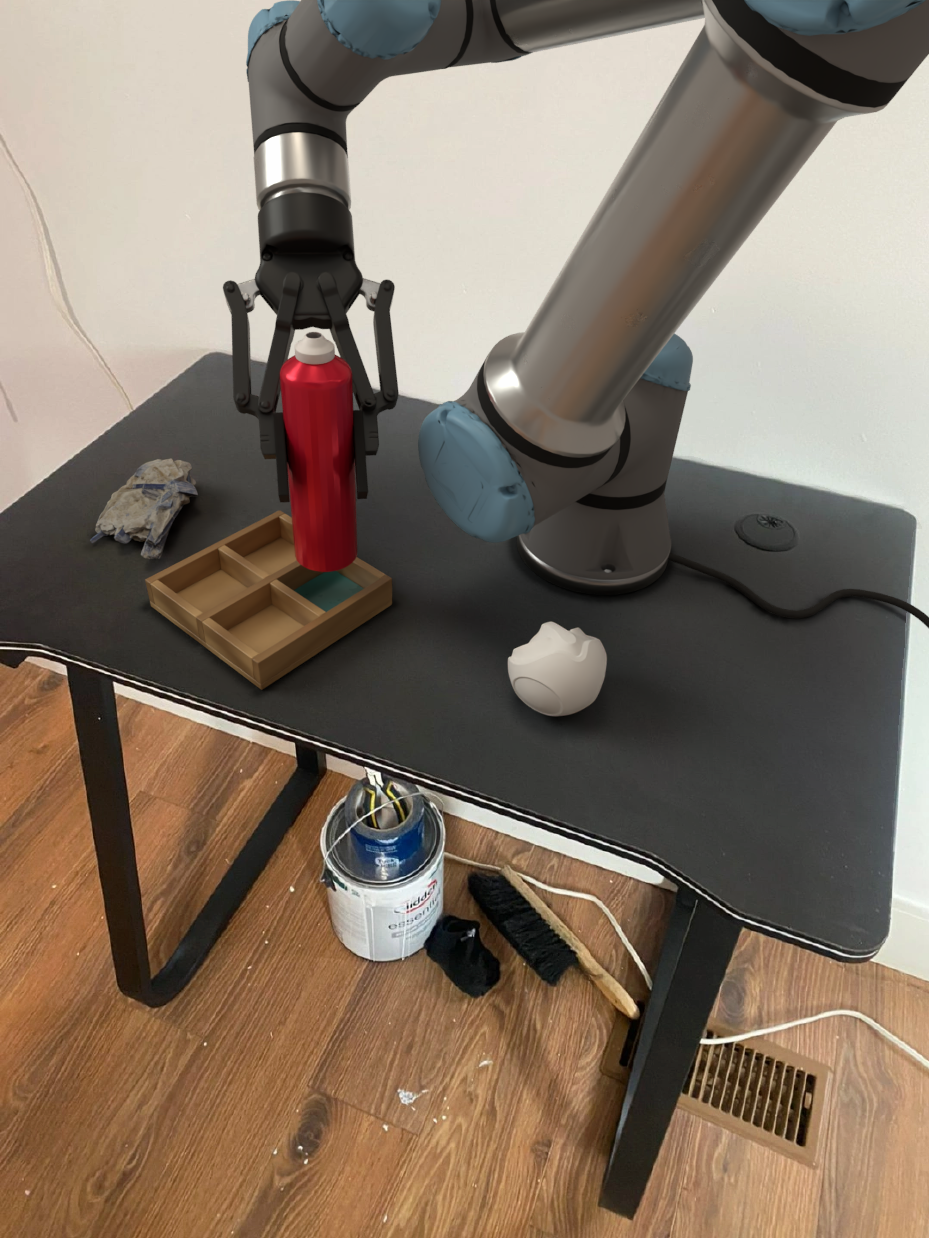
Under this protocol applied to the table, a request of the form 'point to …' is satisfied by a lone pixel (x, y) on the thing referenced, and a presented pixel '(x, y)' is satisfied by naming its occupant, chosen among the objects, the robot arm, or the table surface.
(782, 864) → the table surface
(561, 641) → the off-white rounded piece
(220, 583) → the wooden divided tray
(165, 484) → the crumpled cloth bundle
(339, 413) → the bottle
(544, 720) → the table surface
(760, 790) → the table surface
